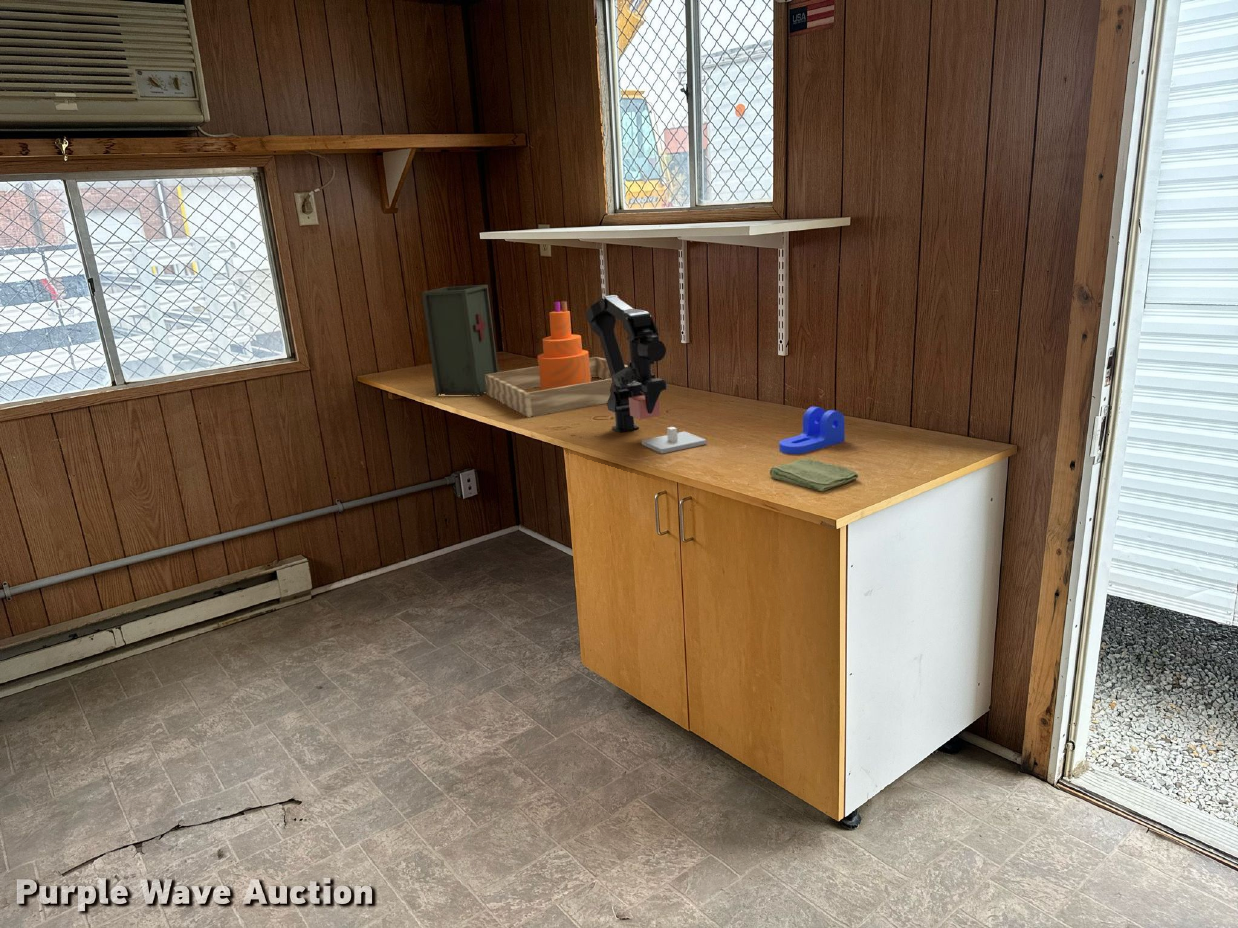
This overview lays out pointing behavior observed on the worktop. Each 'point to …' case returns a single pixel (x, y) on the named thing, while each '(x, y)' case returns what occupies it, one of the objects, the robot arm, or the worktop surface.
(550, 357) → the cake
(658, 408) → the pink slotted box
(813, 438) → the bracket
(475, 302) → the first aid box
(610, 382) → the storage crate
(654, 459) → the worktop surface
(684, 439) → the peg base plate
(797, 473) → the washcloth
